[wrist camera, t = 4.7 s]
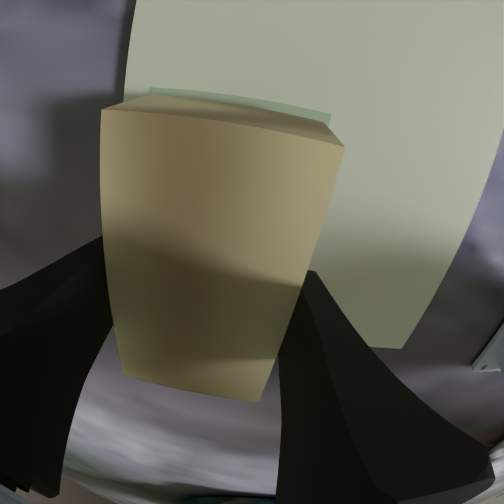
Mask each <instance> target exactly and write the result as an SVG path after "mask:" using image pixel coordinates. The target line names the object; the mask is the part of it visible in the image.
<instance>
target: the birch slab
mask: <svg viewBox="0 0 504 504" xmlns="http://www.w3.org/2000/svg"><path fill="white" fill-rule="evenodd" d="M344 150H345V146H344V145H343V144H342V143H341V142H340V140H339V139H338V138H337V137H336V136H335V135H334V133H333V132H332V131H331V130H330V129H329V128H328V127H327V126H326V124H325V123H324V122H321V121H317V120H313V119H309V118H305V117H300V116H296V115H291V114H286V113H282V112H277V111H272V110H267V109H261V108H256V107H250V106H244V105H238V104H232V103H225V102H218V101H211V100H203V99H195V98H186V97H177V96H166V95H153V94H150V95H146V96H143V97H139V98H136V99H133V100H129V101H126V102H123V103H120V104H117V105H114V106H110V107H107V108H105V109H102V110H101V130H100V196H101V218H102V233H103V246H104V257H105V266H106V275H107V284H108V292H109V299H110V306H111V312H112V318H113V323H114V324H113V325H114V331H115V336H116V342H117V347H118V352H119V357H120V362H121V367H122V372H123V375H124V376H127V377H131V378H135V379H139V380H142V381H146V382H150V383H155V384H159V385H163V386H167V387H172V388H176V389H181V390H186V391H191V392H196V393H201V394H206V395H211V396H217V397H223V398H229V399H235V400H242V401H249V402H256V403H259V400H260V398H261V395H262V393H263V390H264V388H265V385H266V383H267V380H268V378H269V375H270V372H271V370H272V367H273V365H274V362H275V359H276V357H277V354H278V352H279V349H280V346H281V344H282V341H283V338H284V335H285V333H286V330H287V327H288V325H289V322H290V319H291V316H292V313H293V311H294V308H295V305H296V302H297V299H298V296H299V294H300V291H301V288H302V285H303V282H304V279H305V276H306V273H307V270H308V267H309V264H310V261H311V258H312V255H313V252H314V249H315V246H316V243H317V240H318V237H319V234H320V231H321V227H322V224H323V221H324V218H325V215H326V211H327V208H328V205H329V202H330V198H331V195H332V192H333V188H334V185H335V182H336V178H337V175H338V171H339V168H340V164H341V161H342V157H343V154H344Z"/></svg>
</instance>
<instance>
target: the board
mask: <svg viewBox="0 0 504 504" xmlns="http://www.w3.org/2000/svg"><path fill="white" fill-rule="evenodd" d="M150 94H153V95H166V96H177V97H186V98H195V99H203V100H211V101H218V102H225V103H232V104H238V105H244V106H250V107H256V108H261V109H267V110H272V111H277V112H282V113H286V114H291V115H296V116H300V117H305V118H309V119H313V120H317V121H321V122H324V123H325V124H326V126H327V127H328V128H329V129H330V130H331V131H332V132H333V133H334V135H335V136H336V137H337V138H338V139H339V140H340V142H341V143H342V144H343V145H344V146H345V150H344V154H343V157H342V161H341V164H340V168H339V171H338V175H337V178H336V182H335V185H334V188H333V192H332V195H331V198H330V202H329V205H328V208H327V211H326V215H325V218H324V221H323V224H322V227H321V231H320V234H319V237H318V240H317V243H316V246H315V249H314V252H313V255H312V258H311V261H310V264H309V267H308V270H312V271H316V273H317V274H318V276H319V277H320V279H321V280H322V282H323V283H324V285H325V286H326V288H327V289H328V291H329V292H330V294H331V295H332V297H333V298H334V300H335V301H336V303H337V304H338V306H339V307H340V309H341V310H342V312H343V313H344V314H345V316H346V317H347V319H348V320H349V321H350V323H351V324H352V326H353V327H354V328H355V330H356V331H357V332H358V333H359V335H360V336H361V337H362V338H363V340H364V341H365V342H366V344H367V345H368V346H369V347H380V348H393V349H402V347H403V346H404V344H405V343H406V341H407V340H408V338H409V337H410V335H411V333H412V332H413V330H414V329H415V327H416V325H417V324H418V322H419V321H420V319H421V317H422V316H423V314H424V312H425V310H426V309H427V307H428V305H429V304H430V302H431V300H432V298H433V297H434V295H435V293H436V291H437V289H438V287H439V286H440V284H441V282H442V280H443V278H444V276H445V274H446V272H447V270H448V269H449V267H450V265H451V263H452V261H453V259H454V257H455V254H456V252H457V250H458V248H459V246H460V244H461V242H462V240H463V237H464V235H465V233H466V231H467V229H468V226H469V224H470V222H471V219H472V217H473V215H474V212H475V210H476V207H477V205H478V202H479V200H480V197H481V195H482V192H483V189H484V187H485V184H486V181H487V179H488V176H489V173H490V170H491V167H492V164H493V161H494V158H495V155H496V152H497V149H498V145H499V142H500V139H501V135H502V132H503V128H504V0H137V2H136V7H135V12H134V18H133V24H132V30H131V37H130V44H129V51H128V59H127V68H126V77H125V87H124V99H123V102H126V101H129V100H133V99H136V98H139V97H143V96H146V95H150Z"/></svg>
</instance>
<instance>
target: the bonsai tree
mask: <svg viewBox="0 0 504 504" xmlns="http://www.w3.org/2000/svg"><path fill="white" fill-rule="evenodd" d="M179 504H275V499H267V498H245V497H196V498H188V499H187V500H185V501H184V502H183V503H179Z"/></svg>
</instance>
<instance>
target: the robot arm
mask: <svg viewBox="0 0 504 504" xmlns="http://www.w3.org/2000/svg"><path fill="white" fill-rule="evenodd" d="M113 324H114V323H113V318H112V312H111V306H110V299H109V292H108V284H107V275H106V266H105V257H104V246H103V236H101V237H99V238H97V239H95V240H93V241H91V242H89V243H87V244H86V245H84V246H82V247H80V248H78V249H77V250H75V251H73V252H71V253H70V254H68V255H66V256H64V257H63V258H61V259H59V260H57V261H56V262H54V263H52V264H50V265H49V266H47V267H45V268H43V269H41V270H39V271H38V272H36V273H34V274H32V275H30V276H28V277H27V278H25V279H23V280H21V281H19V282H17V283H15V284H13V285H11V286H9V287H6V288H4V289H2V290H0V504H35V503H33V502H31V501H29V500H27V499H26V498H24V497H22V496H20V495H18V494H16V493H15V491H16V488H17V487H18V488H19V489H21V490H23V491H25V492H27V493H28V492H29V490H30V489H31V490H33V491H35V492H37V493H39V494H41V495H43V496H45V497H47V498H53V497H55V496H57V495H59V491H60V480H61V473H62V466H63V460H64V454H65V449H66V444H67V440H68V435H69V431H70V427H71V423H72V420H73V416H74V412H75V409H76V406H77V403H78V400H79V396H80V393H81V390H82V387H83V385H84V382H85V380H86V377H87V375H88V373H89V371H90V369H91V367H92V365H93V363H94V361H95V359H96V357H97V355H98V353H99V351H100V349H101V347H102V345H103V343H104V341H105V339H106V337H107V335H108V333H109V332H110V330H111V328H112V326H113ZM278 361H279V378H280V394H281V412H282V427H281V443H280V457H279V468H278V479H277V488H276V496H275V504H462V503H464V502H466V501H468V500H470V499H472V498H474V497H475V496H477V495H479V494H480V493H482V492H484V491H485V490H487V489H488V488H489V487H491V485H492V484H493V483H494V481H495V475H494V471H493V467H492V464H491V460H490V457H489V453H488V450H487V447H486V446H485V445H483V444H482V443H480V442H478V441H477V440H475V439H474V438H472V437H470V436H469V435H467V434H466V433H464V432H463V431H461V430H460V429H458V428H456V427H455V426H454V425H452V424H451V423H449V422H448V421H447V420H446V419H444V418H443V417H442V416H440V415H439V414H438V413H436V412H435V411H434V410H433V409H431V408H430V407H429V406H428V405H427V404H425V403H424V402H423V401H422V400H421V399H419V398H418V397H417V396H416V395H415V394H414V393H413V392H412V391H411V390H410V389H409V388H407V387H406V386H405V385H404V384H403V383H402V382H401V381H400V380H399V379H398V378H397V377H396V376H395V375H394V374H393V373H392V372H391V371H390V370H389V369H388V368H387V366H386V365H385V364H384V363H383V362H382V361H381V360H380V359H379V358H378V357H377V356H376V354H375V353H374V352H373V351H372V350H371V349H370V347H369V346H368V345H367V344H366V342H365V341H364V340H363V338H362V337H361V336H360V335H359V333H358V332H357V331H356V330H355V328H354V327H353V326H352V324H351V323H350V321H349V320H348V319H347V317H346V316H345V314H344V313H343V312H342V310H341V309H340V307H339V306H338V304H337V303H336V301H335V300H334V298H333V297H332V295H331V294H330V292H329V291H328V289H327V288H326V286H325V285H324V283H323V282H322V280H321V279H320V277H319V276H318V274H317V273H316V271H312V270H307V273H306V276H305V279H304V282H303V285H302V288H301V291H300V294H299V296H298V299H297V302H296V305H295V308H294V311H293V313H292V316H291V319H290V322H289V325H288V327H287V330H286V333H285V335H284V338H283V341H282V344H281V346H280V349H279V352H278ZM472 369H473V371H474V372H486V371H502V374H503V376H504V323H503V324H502V326H501V327H500V328H499V330H498V331H497V333H496V334H495V335H494V337H493V338H492V340H491V341H490V342H489V344H488V345H487V346H486V348H485V349H484V350H483V352H482V353H481V354H480V355H479V357H478V358H477V359H476V360H475V362H474V363H473V364H472Z"/></svg>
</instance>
